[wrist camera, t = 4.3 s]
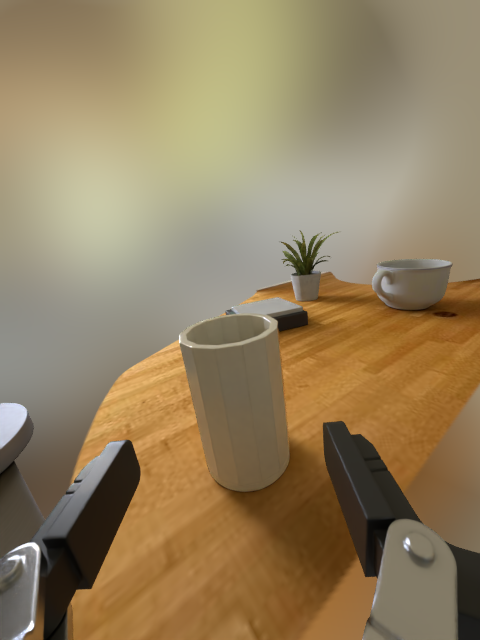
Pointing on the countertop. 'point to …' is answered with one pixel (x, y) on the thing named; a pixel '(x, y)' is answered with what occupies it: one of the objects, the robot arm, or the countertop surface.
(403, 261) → the teacup
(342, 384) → the countertop surface
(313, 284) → the house plant
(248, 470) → the tumbler
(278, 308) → the scale
